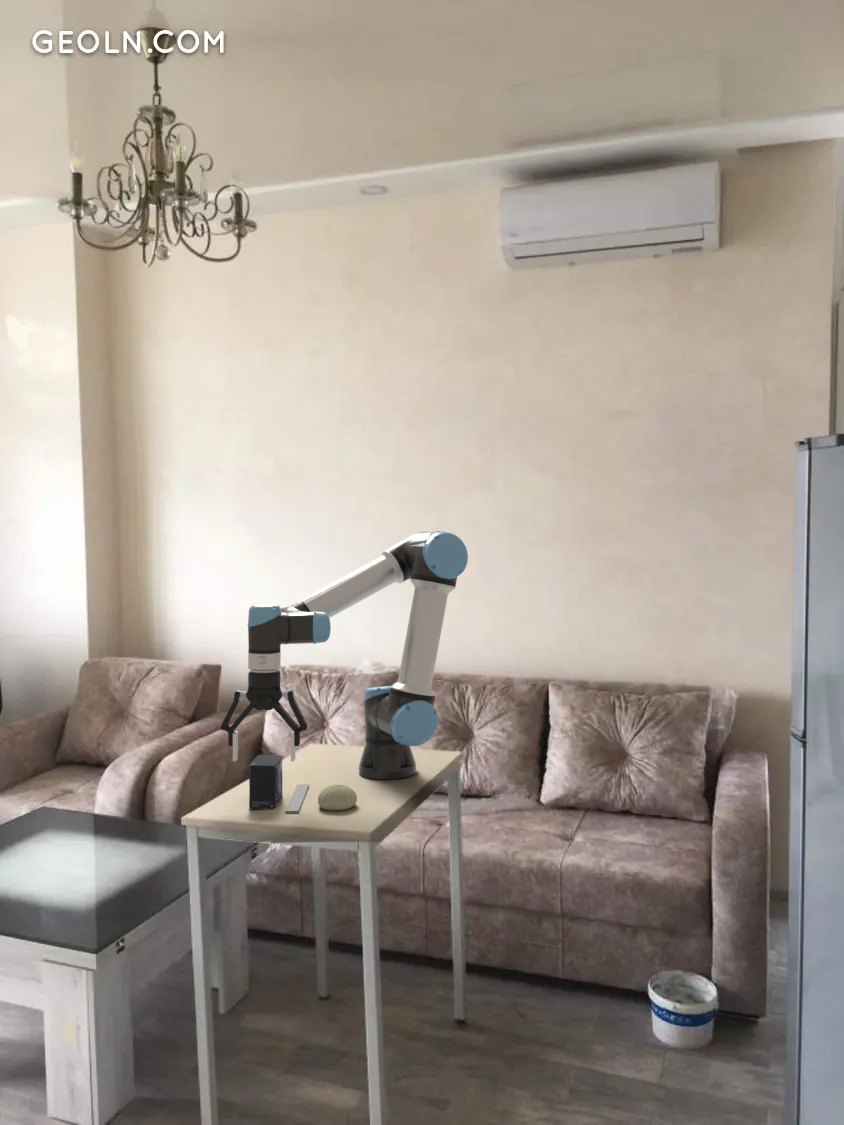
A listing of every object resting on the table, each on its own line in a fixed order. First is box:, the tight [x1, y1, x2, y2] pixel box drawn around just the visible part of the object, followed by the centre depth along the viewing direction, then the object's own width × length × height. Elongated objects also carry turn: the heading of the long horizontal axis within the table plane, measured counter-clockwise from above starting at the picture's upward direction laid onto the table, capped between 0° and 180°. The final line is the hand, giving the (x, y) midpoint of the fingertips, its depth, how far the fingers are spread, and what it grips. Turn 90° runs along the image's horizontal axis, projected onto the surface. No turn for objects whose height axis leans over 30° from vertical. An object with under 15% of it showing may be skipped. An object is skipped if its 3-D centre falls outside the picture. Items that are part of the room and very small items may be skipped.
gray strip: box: [284, 783, 310, 814], centre depth 230 cm, size 3×23×1 cm, turn 1°
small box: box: [248, 754, 283, 810], centre depth 226 cm, size 11×6×10 cm, turn 179°
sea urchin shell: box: [317, 784, 358, 812], centre depth 223 cm, size 9×8×8 cm
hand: (264, 760), depth 226 cm, fingers open, 13 cm apart
